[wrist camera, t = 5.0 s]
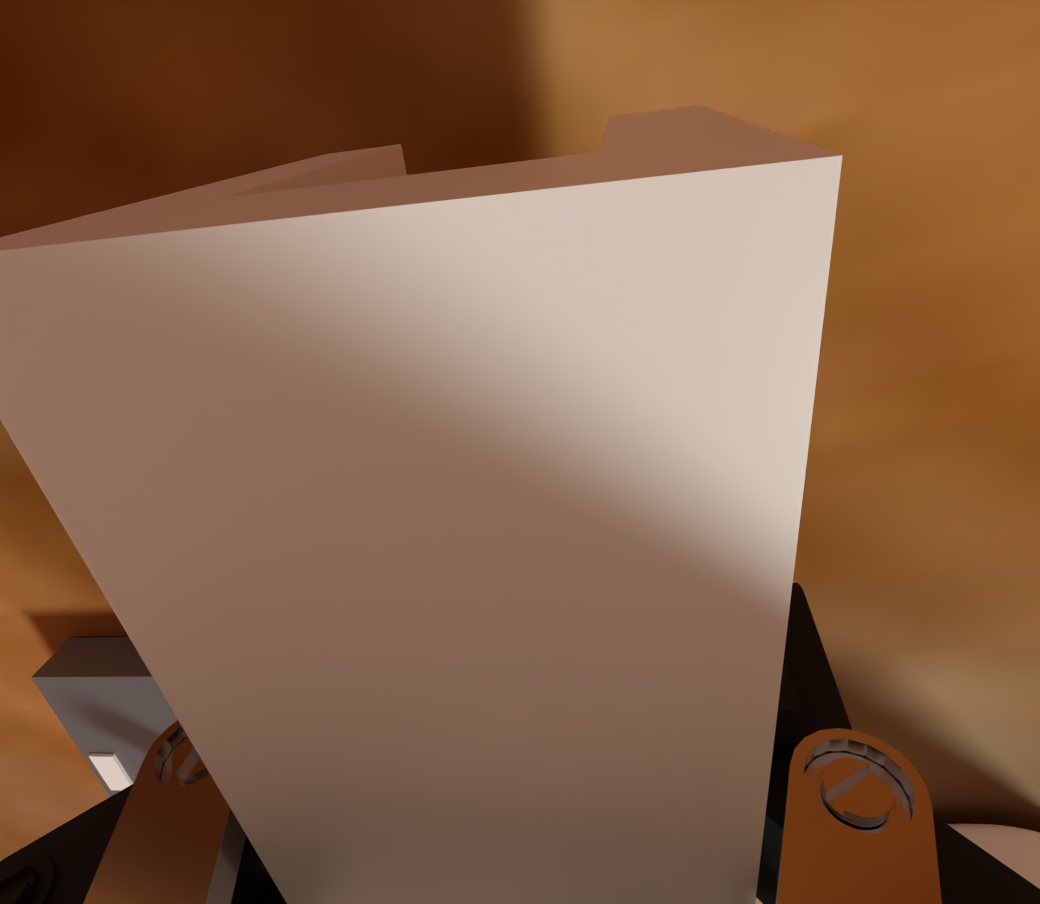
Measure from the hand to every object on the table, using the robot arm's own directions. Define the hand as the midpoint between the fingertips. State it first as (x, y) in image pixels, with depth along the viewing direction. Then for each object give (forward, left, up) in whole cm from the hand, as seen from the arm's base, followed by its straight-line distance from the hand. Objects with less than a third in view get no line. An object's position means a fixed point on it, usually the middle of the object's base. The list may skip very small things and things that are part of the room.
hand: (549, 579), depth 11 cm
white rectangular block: (0, 0, -1) cm, 1 cm away
